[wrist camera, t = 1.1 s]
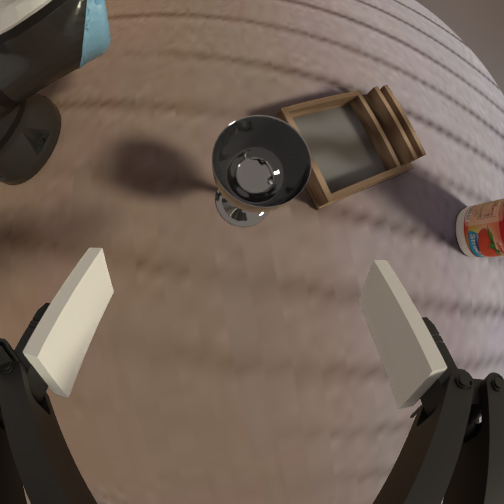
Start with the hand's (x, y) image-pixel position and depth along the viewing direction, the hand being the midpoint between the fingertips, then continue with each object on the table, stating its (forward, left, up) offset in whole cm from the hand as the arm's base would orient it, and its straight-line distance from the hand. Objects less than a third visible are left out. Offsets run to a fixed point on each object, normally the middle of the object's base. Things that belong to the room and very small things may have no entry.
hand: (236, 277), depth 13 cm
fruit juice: (+13, +43, -23) cm, 50 cm away
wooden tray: (-9, +24, -23) cm, 34 cm away
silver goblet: (-7, +6, -23) cm, 25 cm away
